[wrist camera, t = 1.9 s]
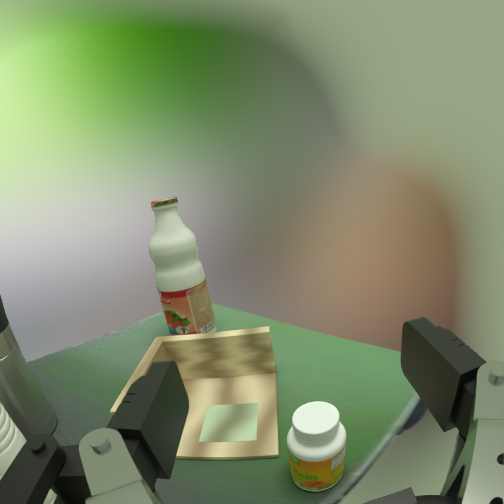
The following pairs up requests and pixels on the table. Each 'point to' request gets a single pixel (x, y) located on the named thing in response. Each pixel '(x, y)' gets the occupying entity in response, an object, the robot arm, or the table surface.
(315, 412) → the supplement bottle
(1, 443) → the water bottle
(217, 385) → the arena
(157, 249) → the fruit juice
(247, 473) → the table surface
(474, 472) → the robot arm
